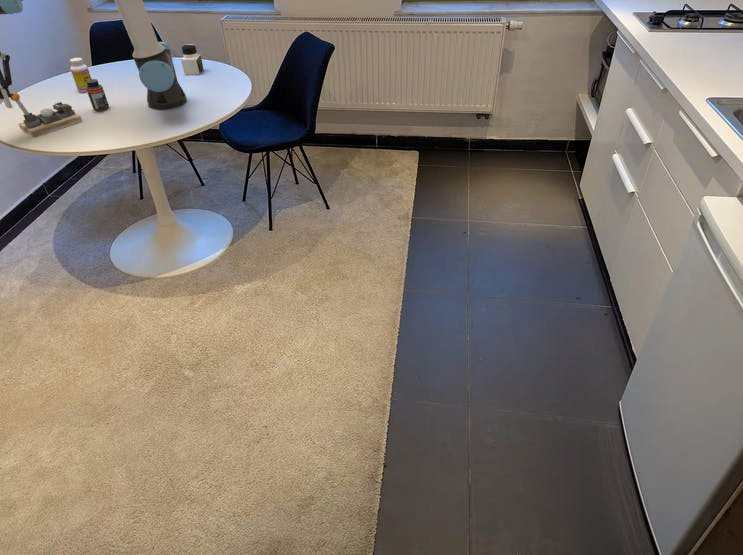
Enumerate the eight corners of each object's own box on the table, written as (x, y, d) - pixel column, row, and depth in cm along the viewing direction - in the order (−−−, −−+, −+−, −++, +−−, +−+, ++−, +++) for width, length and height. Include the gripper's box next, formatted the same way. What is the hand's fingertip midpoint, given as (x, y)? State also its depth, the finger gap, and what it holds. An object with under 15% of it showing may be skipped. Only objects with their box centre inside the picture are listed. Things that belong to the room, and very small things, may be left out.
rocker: (72, 109, 206) (71, 105, 205) (58, 111, 202) (57, 107, 202) (67, 107, 208) (66, 103, 207) (53, 108, 204) (52, 104, 204)
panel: (82, 121, 207) (76, 106, 203) (34, 137, 196) (27, 121, 192) (67, 113, 213) (61, 98, 209) (20, 129, 202) (13, 113, 198)
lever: (36, 118, 198) (17, 91, 190) (28, 122, 197) (9, 95, 189) (32, 116, 200) (14, 89, 192) (25, 120, 198) (6, 94, 190)
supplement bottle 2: (93, 107, 217) (83, 79, 210) (109, 105, 219) (100, 76, 212) (93, 112, 213) (83, 84, 206) (109, 110, 215) (100, 81, 208)
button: (56, 116, 202) (53, 110, 201) (45, 119, 200) (42, 113, 199) (51, 113, 205) (48, 107, 203) (40, 117, 202) (38, 110, 201)
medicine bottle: (200, 75, 245) (194, 47, 238) (184, 75, 246) (177, 47, 238) (204, 69, 251) (198, 42, 243) (188, 70, 251) (182, 43, 244)
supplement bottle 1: (88, 93, 230) (77, 62, 222) (75, 92, 232) (63, 61, 224) (98, 87, 236) (87, 57, 227) (84, 86, 237) (73, 56, 229)
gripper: (-6, 30, 182) (23, 99, 197) (-48, 38, 175) (-14, 110, 189) (3, 34, 179) (32, 104, 193) (-39, 42, 171) (-6, 115, 186)
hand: (9, 107), depth 191 cm, fingers closed
